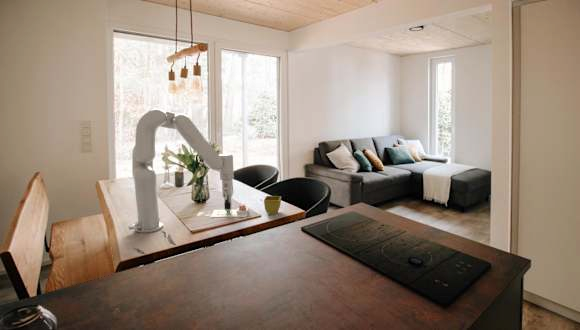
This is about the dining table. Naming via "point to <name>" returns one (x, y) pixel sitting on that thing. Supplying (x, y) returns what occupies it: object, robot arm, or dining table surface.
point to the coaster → (204, 214)
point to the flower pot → (272, 204)
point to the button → (242, 207)
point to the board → (232, 213)
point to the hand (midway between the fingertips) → (228, 207)
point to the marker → (230, 205)
